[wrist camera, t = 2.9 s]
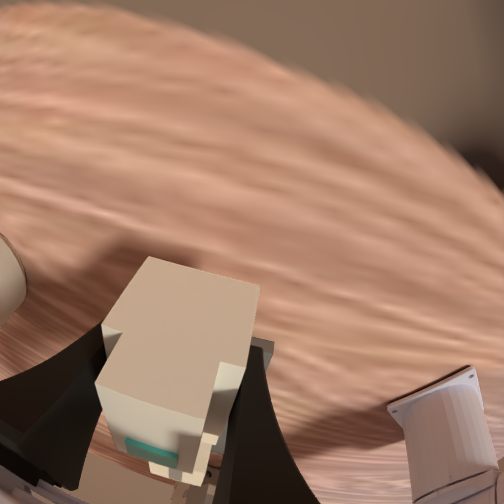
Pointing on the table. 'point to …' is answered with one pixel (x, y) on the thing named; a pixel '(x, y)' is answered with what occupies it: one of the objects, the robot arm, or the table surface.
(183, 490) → the circuit breaker
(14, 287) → the can
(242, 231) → the table surface
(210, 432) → the block
